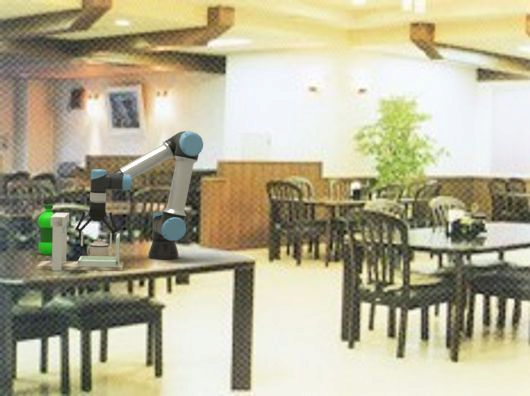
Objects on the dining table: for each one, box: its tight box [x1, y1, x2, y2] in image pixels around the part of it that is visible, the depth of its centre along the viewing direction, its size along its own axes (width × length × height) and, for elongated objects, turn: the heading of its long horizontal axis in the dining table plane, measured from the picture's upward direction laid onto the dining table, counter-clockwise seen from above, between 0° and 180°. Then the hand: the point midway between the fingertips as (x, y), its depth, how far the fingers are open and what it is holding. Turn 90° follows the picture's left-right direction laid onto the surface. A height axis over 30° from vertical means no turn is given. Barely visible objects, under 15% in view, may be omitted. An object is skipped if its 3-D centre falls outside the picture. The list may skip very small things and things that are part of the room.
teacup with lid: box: [86, 238, 110, 256], centre depth 451 cm, size 12×9×12 cm
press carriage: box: [77, 232, 121, 267], centre depth 435 cm, size 18×17×14 cm
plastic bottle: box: [37, 204, 55, 256], centre depth 475 cm, size 10×10×25 cm
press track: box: [36, 260, 125, 272], centre depth 434 cm, size 38×17×2 cm, turn 97°
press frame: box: [51, 212, 70, 272], centre depth 432 cm, size 6×24×24 cm, turn 7°
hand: (96, 246), depth 450 cm, fingers open, 13 cm apart
